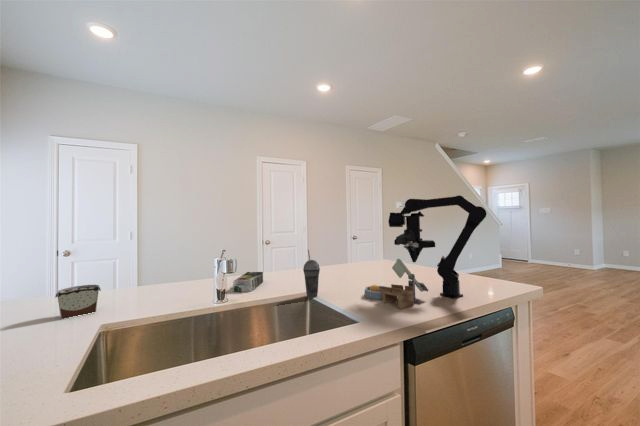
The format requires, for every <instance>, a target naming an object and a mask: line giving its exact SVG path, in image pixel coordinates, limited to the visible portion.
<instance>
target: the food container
mask: <svg viewBox="0 0 640 426" xmlns="http://www.w3.org/2000/svg"><path fill="white" fill-rule="evenodd" d="M100 291H101V287H100V285H99V284H83V285H75V286H71V287H66V288H62V289H60V290H58V291H56V293H55V296H54V298H57V302H58V309H59V315H60V320H61V319H63V320H65V319H64V318H68V319H70V318H69V317H73V316H77V317H79V316H78V315H82V316H84V315H83V314H87V315H89V314H88V313H92V312H96V313H97V307H98V299H99V298H98V297H99V292H100ZM92 314H93V313H92ZM73 318H74V317H73Z"/></svg>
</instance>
